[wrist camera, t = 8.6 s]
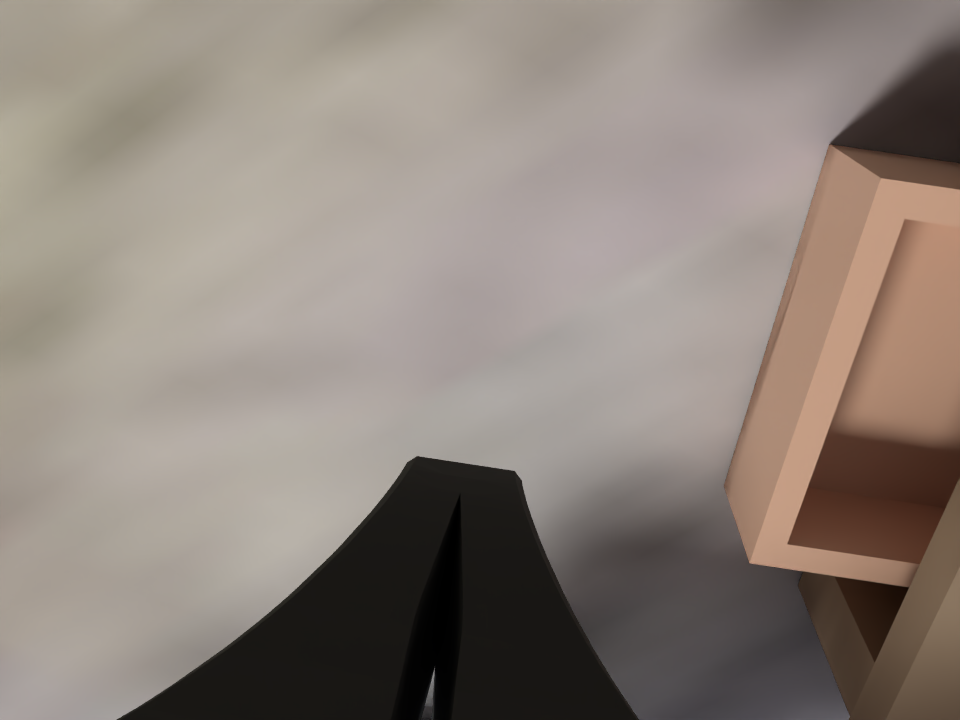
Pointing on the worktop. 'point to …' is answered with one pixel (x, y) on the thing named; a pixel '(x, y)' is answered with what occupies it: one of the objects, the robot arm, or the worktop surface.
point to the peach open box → (859, 378)
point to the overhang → (896, 633)
